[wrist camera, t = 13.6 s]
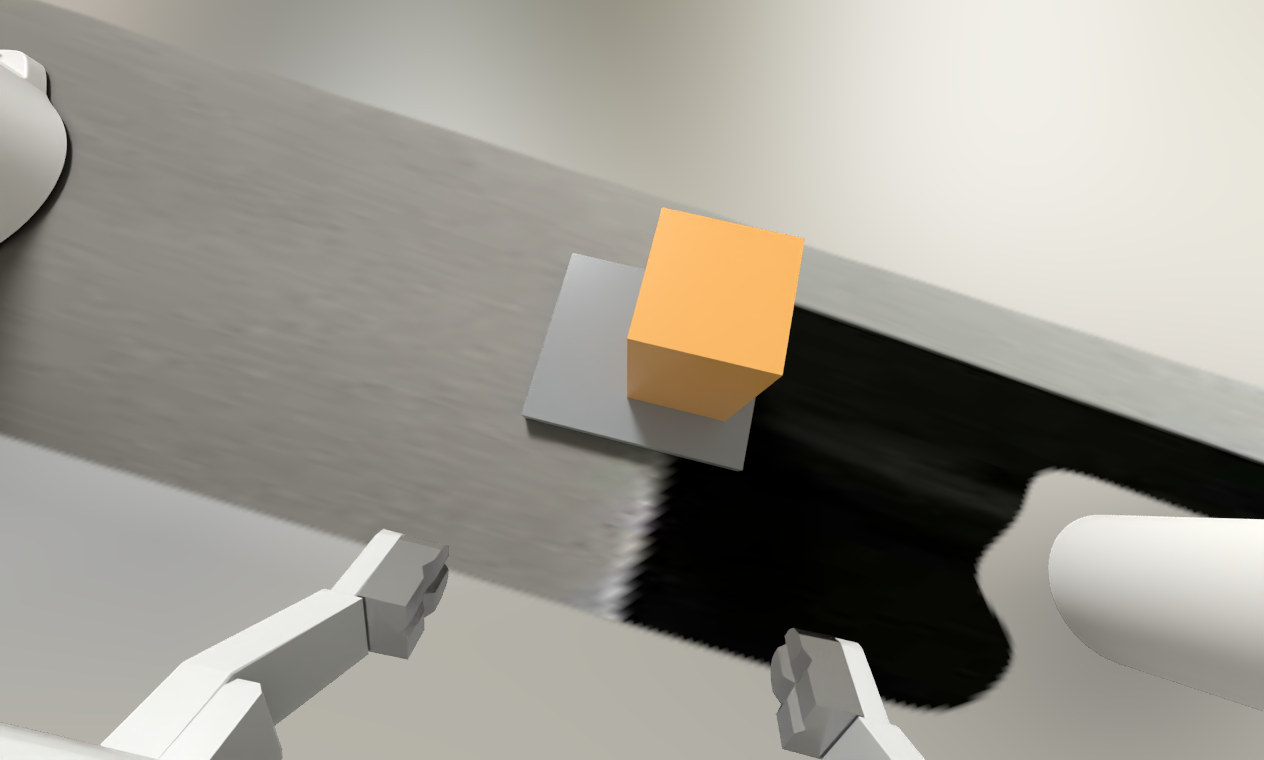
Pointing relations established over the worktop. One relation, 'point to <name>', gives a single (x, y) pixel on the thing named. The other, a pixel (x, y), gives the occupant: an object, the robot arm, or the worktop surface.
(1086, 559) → the cylindrical container
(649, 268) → the orange rectangular block
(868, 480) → the worktop surface
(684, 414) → the plate
